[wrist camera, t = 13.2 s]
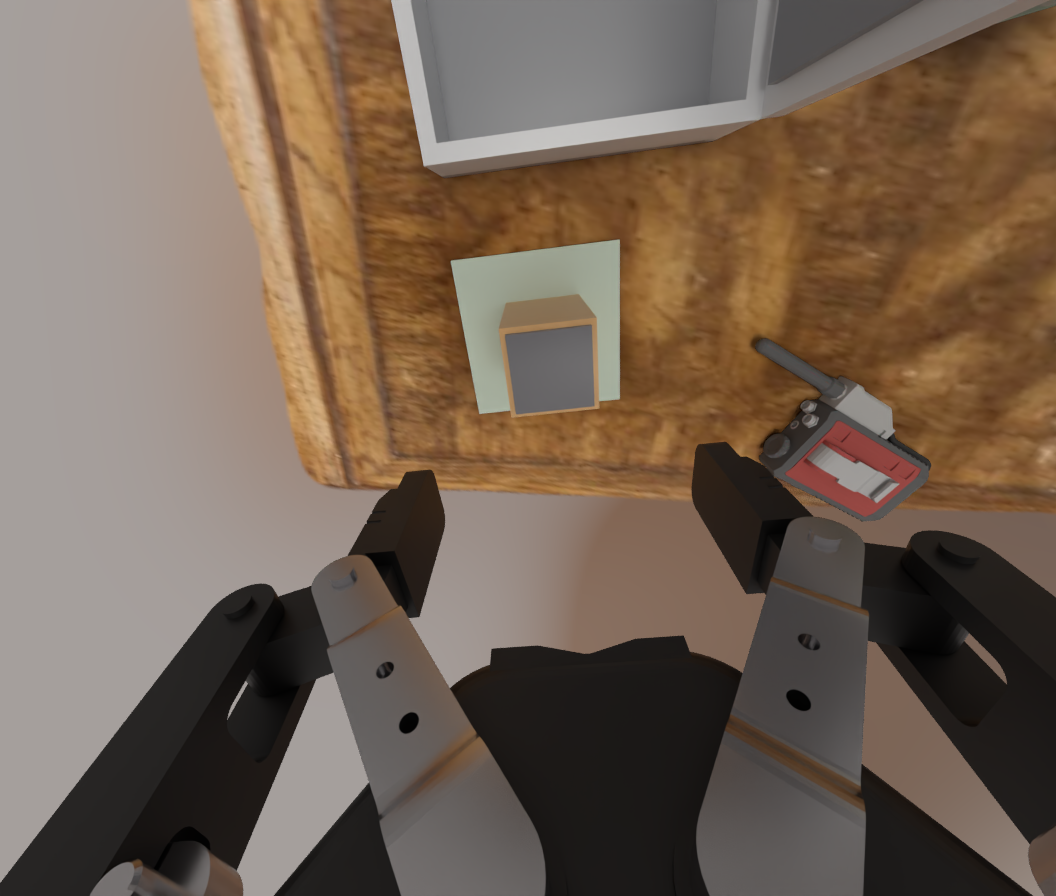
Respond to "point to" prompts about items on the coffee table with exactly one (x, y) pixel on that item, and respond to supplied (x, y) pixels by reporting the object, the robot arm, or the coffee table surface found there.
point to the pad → (530, 278)
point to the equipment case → (644, 68)
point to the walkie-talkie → (842, 446)
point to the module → (550, 355)
